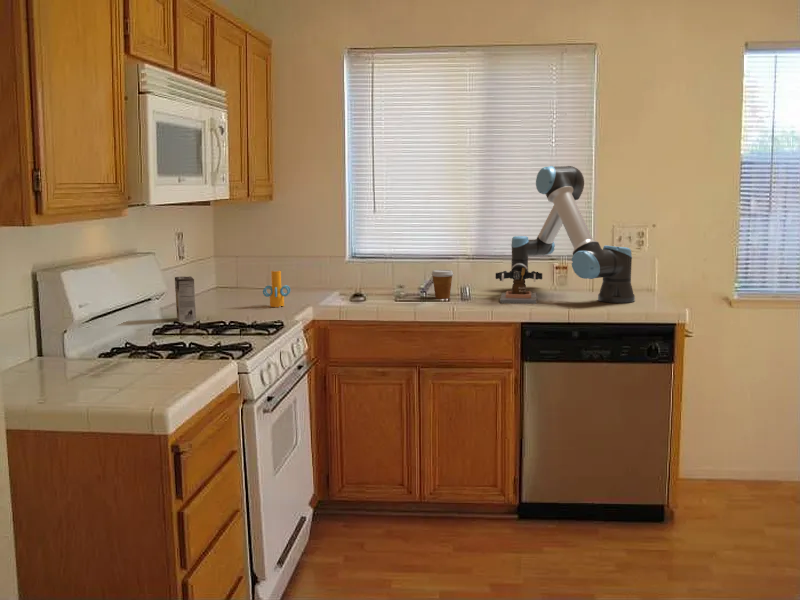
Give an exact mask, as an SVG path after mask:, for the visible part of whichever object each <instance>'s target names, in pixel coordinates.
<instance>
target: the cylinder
mask: <svg viewBox="0 0 800 600" xmlns="http://www.w3.org/2000/svg"><path fill="white" fill-rule="evenodd" d="M270 275H271V276H270V277H271V280H270V281H271V285H269V284H268V285H266V286H265V287H264V288H263V290H262V294H263V296H264V297H268V298H269V306H271V308H280V307H279V306H283V307H285V297H288V295H290V293H291V287H290V286H289V285H287V284H285V285H283V286H282V270H277V269H276V270H275V269H274V270H271V273H270ZM267 289H269V290H270V293H268V291H267ZM284 289H285V290H286V293H285V292H284Z"/></svg>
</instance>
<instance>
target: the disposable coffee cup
mask: <svg viewBox="0 0 800 600" xmlns="http://www.w3.org/2000/svg"><path fill="white" fill-rule="evenodd" d="M431 275H432V281H433V288H434V289H433V290H434V297H435V299H438V300H446V299H450V297H451V289H452V283H453V282H452V280H453V276H454V273H453V270H451V269H435V270H432V273H431Z"/></svg>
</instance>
